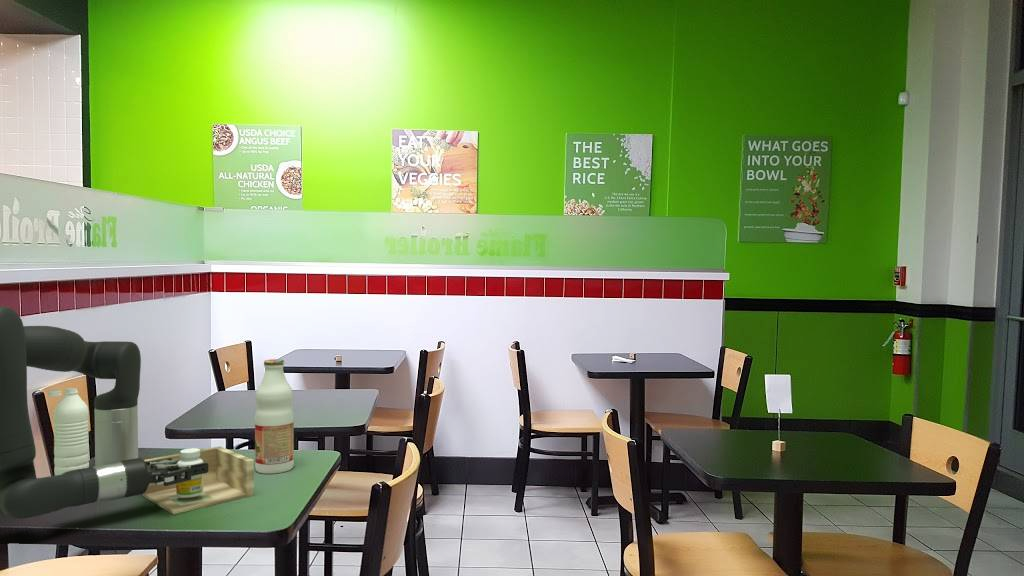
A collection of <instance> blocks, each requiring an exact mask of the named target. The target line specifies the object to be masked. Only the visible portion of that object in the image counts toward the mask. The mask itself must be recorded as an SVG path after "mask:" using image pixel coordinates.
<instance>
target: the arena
mask: <svg viewBox="0 0 1024 576" xmlns="http://www.w3.org/2000/svg"><path fill="white" fill-rule="evenodd" d="M168 458H172V460H174V459H178V461H179V460H181V458H180V453H176V454H175V453H174V454H171V455H163V456H160V457H158V456H157V457H152V458H148V459H143V460H144V461H153V460H161V459H168ZM199 458H200V459H202V460H203V463H208V472H207V473H204V474H203V493H202V494H201V495H199V496H195V497H188V498H181V497H178V496H177V495H176V484H172V485H168V486H164V483H163V484H155V483H150V484H149V485H148V487H147V491H146V492H145V493H144V494H142V497H145V499H147V500H148V501H151V502H152V503H154V504H155V505H157V506H159V507H160V508H162V509H163V510H165V511H167V512H168V513H170V514H171V515H177V514H181V513H184V512H188V511H193V510H197V509H198V510H199V509H201V508H206V507H210V506H213V505H214V506H215V505H219V504H222V503H227V502H232V501H235V500H239V499H243V498H249V497H251V496H254V495H255V459H253V458H250V457H247V456H244V455H242V454H240V453H237V452H235V451H232V450H230V449H227V448H225V447H223V446H214V447H208V448H204V449H200V456H199Z"/></svg>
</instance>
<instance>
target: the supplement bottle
mask: <svg viewBox="0 0 1024 576" xmlns="http://www.w3.org/2000/svg"><path fill="white" fill-rule="evenodd" d="M200 450H201V449H200V448H198V447H197V448H196V447H195V448H193V447H191V448H184V449H181V450H180V451H179V454H180V458H181V460H180V461H178V462H177V464H178V465H179V466H187V465H194V464H200V463H203V460H202V459H200V458H199V456H200ZM182 475H185V472H183V473H182ZM202 493H203V474H199V475H194V476H191V480H189V481H184V482H180V483H176V495H177V496H178V497H181V498H188V497H195V496H199V495H201V494H202Z"/></svg>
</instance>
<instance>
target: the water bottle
mask: <svg viewBox="0 0 1024 576" xmlns="http://www.w3.org/2000/svg"><path fill="white" fill-rule="evenodd" d="M62 393H63V394H62ZM78 393H79V391H78V387H67V388H64V392H63V391H62V390H59V389H57V390H49V391H47V396H48V397H59V396H62V395H63V397H62V398H61V399H60V401H58V404H57V405H56V406H55V408H54V411H53V422H54V423H53V433H54V434H53V437H54V438H53V445H54V446H53V455H54V458H53V464H54V470H53V471H54V476H56V475H62V474H63V473H65V472H68V471H72V470H76V469H83V468H89V467H90V462H89V461H90V452H89V451H90V445H89V433H90V431H89V429H90V428H89V407H88V405H87V404H86V402H85V401H84V400H83V399H82V397H81V396H80V395H79V394H78Z"/></svg>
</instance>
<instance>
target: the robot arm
mask: <svg viewBox="0 0 1024 576" xmlns="http://www.w3.org/2000/svg"><path fill="white" fill-rule="evenodd" d="M22 320H23V319H22V318H21V316H20V315H19V314H18V313H17V311H16V310H15V309H13V308H11V307H9V306H5V305H4V306H3V305H0V511H1V512H2V513H4V514H5V515H8V516H10V517H12V518H15V519H28V518H29V519H30V518H34V517H39V516H43V515H46V514H50V513H53V512H56V511H61V510H63V509H66V508H72V507H78V506H83V505H89V504H92V503H93V504H94V503H100V502H110V501H115V500H120V499H125V498H130V497H134V496H139V495H143V494H144V493H145V492H146V491H147V487H148V485H149V484H150V483H155V484H163V483H164V486H168V485H172V484H176V483H180V482H184V481H189V480H191V476H194V475H199V474H204V473H207V472H208V463H200V464H194V465H187V466H179V465H178V464H177V462H178V459H174V460H172V458H168V459H161V460H153V461H144V460H145V459H143V458H142V457H139V433H138V432H139V421H138V420H139V419H138V418H139V417H138V406H139V405H138V403H139V402H138V399H139V396H140V389H141V388H140V385H141V365H142V361H141V360H142V357H141V351H140V348H139V346H138V345H137V343H135V342H133V341H118V340H117V341H109V340H108V341H86V340H85V339H84V338H83V337H82V336H81V335H80V334H79V333H77V332H75V331H72V330H70V329H65V328H61V327H57V326H49V325H24V323H23V321H22ZM27 367H28V368H29V367H31V368H35V369H40V370H45V371H52V372H61V373H66V372H76V373H80V374H82V375H84V376H88V377H90V378H94V379H99V380H115V384H114V388H112V389H111V390H109V391H107V392H104V393H101V394H98V395H97V396H95V398H94V455H95V456H94V466H89V468H83V469H76V470H72V471H68V472H65V473H63V474H62V475H56V476H55V475H49V476H46V477H37V473H36V468H35V462H34V461H35V459H36V455H37V454H36V453H37V449H36V444H35V439H34V435H33V430H32V424H31V420H30V413H29V405H28V368H27ZM179 461H180V460H179ZM183 472H185V475H182V473H183Z"/></svg>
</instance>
